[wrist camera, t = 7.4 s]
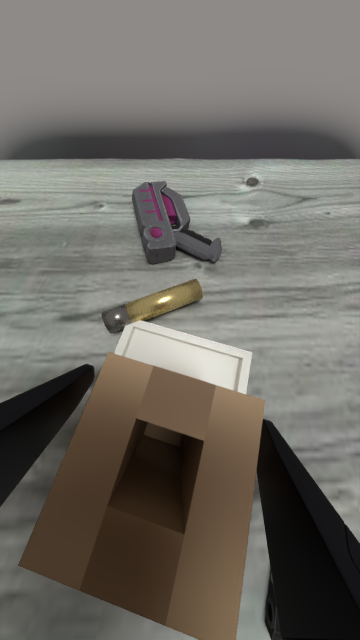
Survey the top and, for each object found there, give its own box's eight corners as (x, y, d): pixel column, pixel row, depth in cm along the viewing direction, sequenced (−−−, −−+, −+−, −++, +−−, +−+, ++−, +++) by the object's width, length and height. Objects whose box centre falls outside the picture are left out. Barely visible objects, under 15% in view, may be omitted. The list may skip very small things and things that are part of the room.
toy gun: (193, 196, 27) (130, 200, 25) (198, 173, 24) (126, 175, 22) (222, 267, 23) (149, 279, 21) (233, 250, 19) (148, 261, 17)
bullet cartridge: (114, 335, 18) (105, 330, 16) (108, 316, 19) (99, 308, 17) (200, 302, 20) (204, 293, 17) (192, 285, 20) (194, 274, 18)
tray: (221, 504, 14) (226, 519, 13) (79, 454, 15) (69, 463, 13) (246, 354, 18) (252, 352, 16) (132, 321, 19) (128, 316, 17)
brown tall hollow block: (189, 439, 15) (235, 658, 3) (135, 421, 15) (14, 568, 4) (203, 380, 16) (266, 398, 5) (154, 365, 17) (107, 349, 5)
